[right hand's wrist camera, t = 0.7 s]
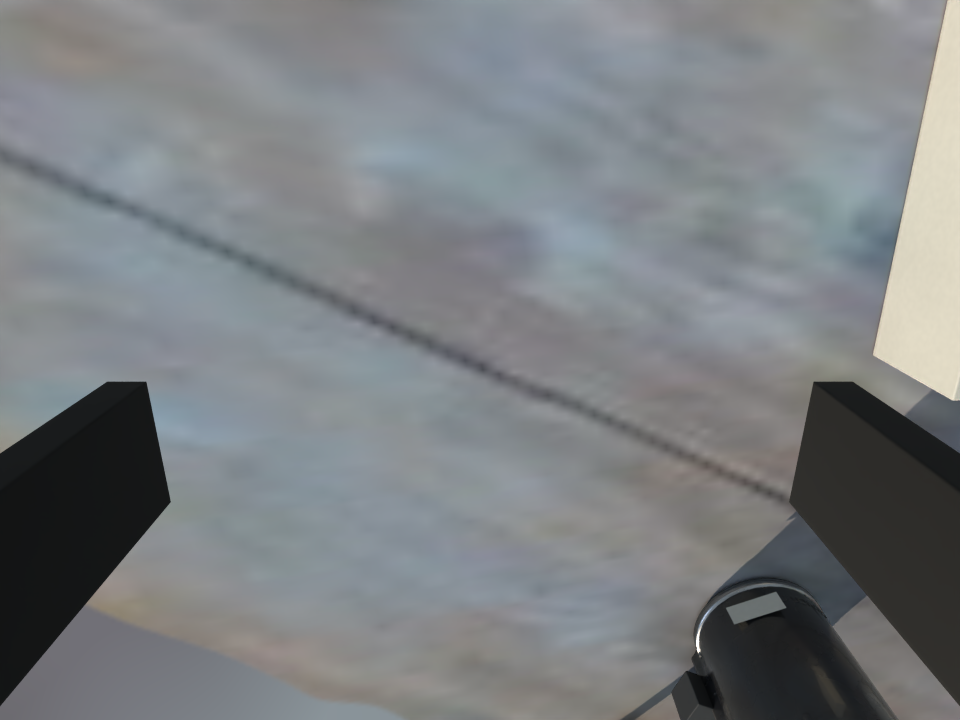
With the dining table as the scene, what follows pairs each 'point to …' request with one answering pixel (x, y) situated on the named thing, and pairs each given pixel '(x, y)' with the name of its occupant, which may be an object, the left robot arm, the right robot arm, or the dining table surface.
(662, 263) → the dining table surface
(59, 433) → the right robot arm
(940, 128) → the beam
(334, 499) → the dining table surface
